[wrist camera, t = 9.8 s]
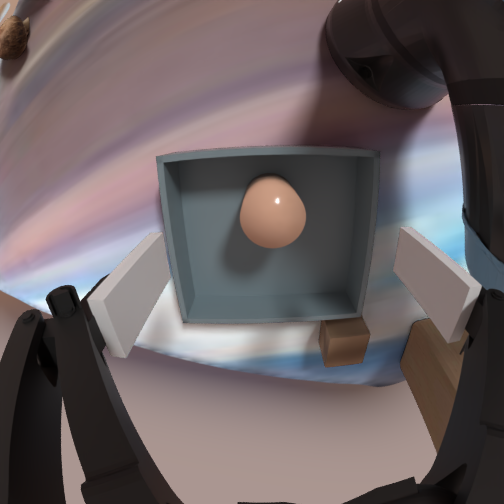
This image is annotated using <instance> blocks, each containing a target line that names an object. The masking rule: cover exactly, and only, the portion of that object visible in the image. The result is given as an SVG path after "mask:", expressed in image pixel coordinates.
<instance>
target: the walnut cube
mask: <svg viewBox="0 0 504 504" xmlns="http://www.w3.org/2000/svg"><path fill="white" fill-rule="evenodd" d="M369 338H370V332H369V330H368V328H367V326H366V324H365V322H364V320H363V318H362V316H361V317H356V318H344V319H332V320H321V328H320V336H319V345H320V349H321V353H322V357H323V361H324V366H325V367H335V366H343V365H351V364H359V363H362V362H363V359H364V355H365V352H366V349H367V345H368V342H369Z"/></svg>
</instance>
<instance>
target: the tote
mask: <svg viewBox="0 0 504 504" xmlns="http://www.w3.org/2000/svg"><path fill="white" fill-rule="evenodd" d="M156 161H157V171H158V180H159V189H160V197H161V205H162V212H163V219H164V226H165V232H166V238H167V245H168V250H169V256H170V262H171V267H172V273H173V278H174V283H175V288H176V293H177V297H178V302H179V307H180V311H181V316H182V320H183V323H211V324H239V323H280V322H302V321H318V320H332V319H344V318H356V317H361V313H362V308H363V303H364V298H365V293H366V288H367V282H368V276H369V270H370V264H371V257H372V250H373V243H374V235H375V226H376V216H377V205H378V192H379V175H380V151H375V150H370V149H363V148H353V147H335V146H248V147H229V148H215V149H204V150H193V151H184V152H175V153H170V154H165V155H161V156H157V157H156ZM265 173H274V174H278V175H280V176H282V177H284V178H285V179H286V180H288V182H289V183H290V184H291V186H292V187H293V189H294V190H295V192H296V193H297V195H298V196H299V198H300V199H301V201H302V202H303V205H304V207H305V212H306V222H305V226H304V228H303V230H302V232H301V234H300V235H299V236H298V238H297V239H296V240H294V241H293V242H292V243H290V244H288V245H286V246H283V247H280V248H265V247H262V246H259V245H257V244H255V243H254V242H252V241H251V240H250V239H249V238H248V237H247V236H246V234H245V233H244V231H243V229H242V227H241V223H240V212H241V207H242V203H243V199H244V194H245V191H246V188H247V186H248V184H249V183H250V182H251V180H253V179H254V178H255V177H257V176H259V175H261V174H265Z"/></svg>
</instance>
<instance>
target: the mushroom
mask: <svg viewBox="0 0 504 504" xmlns="http://www.w3.org/2000/svg"><path fill="white" fill-rule="evenodd" d="M28 32H29V17H28V18H27V19H26V20H25V21H23V22H22V20H21V19H20V18H19V17H17V16H11V17H10V18H8V19H7V20H6V21H5V22H4V23H3V24H2V26H1V27H0V58H1V59H4V60H10V59H15V58H17V57H19V56H20V55H21V53H22V52H23V51H24V49H25V47H26V44H27V34H28Z"/></svg>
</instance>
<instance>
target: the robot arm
mask: <svg viewBox="0 0 504 504" xmlns="http://www.w3.org/2000/svg"><path fill="white" fill-rule="evenodd" d="M326 38H327V43H328V47H329V50H330V52H331V55H332V57H333V59H334V61H335V62H336V64H337V66H338V67H339V69H340V70H341V72H342V73H343V74H344V75H345V77H346V78H347V79H348V80H349V81H350V82H351V83H352V84H353V85H354V86H355V87H356V88H357V89H359V90H360V91H361V92H362V93H364V94H365V95H367V96H368V97H370V98H371V99H373V100H375V101H377V102H379V103H381V104H383V105H386V106H389V107H392V108H397V109H419V108H425V107H429V106H431V105H434V104H436V103H437V102H439V101H440V100H442V99H443V98H444V97H445V96H446V95H447V94H449V97H450V101H451V105H452V106H451V108H452V112H453V117H454V122H455V127H456V133H457V139H458V145H459V152H460V160H461V170H462V182H463V200H464V203H463V207H462V219H463V223H464V225H465V259H466V263H467V267H468V270H469V273H470V274H469V273H468V272H466V271H465V270H464V269H463V268H462V267H461V266H459V265H458V264H457V263H456V262H455V261H454V260H452V259H451V258H450V257H449V256H448V255H446V254H445V253H444V252H443V251H442V250H440V249H439V248H438V247H437V246H435V245H434V244H433V243H432V242H430V241H429V240H428V239H426V238H425V237H424V236H422V235H421V234H420V233H418V232H417V231H416V230H414V229H413V228H412V227H400V233H399V240H398V246H397V252H396V258H395V263H394V268H393V271H394V273H395V274H396V275H397V276H398V277H399V279H400V280H401V281H402V282H403V284H404V285H405V286H406V287H407V289H408V290H409V291H410V292H411V294H412V295H413V296H414V298H415V299H416V300H417V302H418V303H419V304H420V306H421V307H422V308H423V310H424V311H425V312H426V314H427V315H428V316H429V318H430V319H431V320H432V322H433V323H434V325H435V326H436V327H437V329H438V330H439V332H440V333H441V335H442V336H443V337H444V339H445V340H446V342H447V343H452V342H456V341H459V340H460V339H461V337H462V335H463V332H464V330H465V329H466V331H467V332H468V333H469V335H468V337H467V339H466V341H465V343H464V345H463V347H462V349H461V351H460V353H459V354H460V355H461V354H462V352H464V356H463V362H462V368H461V374H460V379H459V383H458V388H457V392H456V396H455V400H454V404H453V408H452V412H451V415H450V419H449V422H448V425H447V428H446V431H445V434H444V437H443V440H442V443H441V446H440V449H439V451H438V454H437V456H436V459H435V461H434V464H433V466H432V468H431V470H430V471H429V473H428V474H427V475H426V476H425V478H424V479H423V480H422V482H421V483H420V484H416V482H415V479H414V477H411V478H408V479H405V480H402V481H399V482H396V483H392V484H389V485H386V486H382V487H378V488H376V489H374V490H372V491H369V492H367V493H365V494H363V495H361V496H359V497H357V498H354V499H352V500H350V501H348V502H345V503H343V504H504V106H503V105H504V0H338V1H337V2H336V3H335V5H334V6H333V8H332V10H331V11H330V13H329V15H328V18H327V22H326ZM472 104H491V105H472ZM170 278H171V275H170V270H169V265H168V259H167V254H166V248H165V242H164V236H163V232H158V233H150V234H149V235H148V236H147V237H146V238H145V239H144V240H142V241H141V242H140V243H139V244H138V245H137V246H136V247H135V248H134V249H133V250H132V251H131V253H130V254H129V255H128V256H127V257H126V258H125V259H124V260H123V261H122V262H121V263H120V264H119V265H118V266H117V267H116V268H115V269H114V270H113V271H112V272H111V273H110V274H108V275H106V276H105V277H103V278H102V279H100V280H99V282H98V283H97V284H96V285H95V286H94V287H93V288H92V289H91V291H89V292H88V293H87V295H86V296H85V297H84V298H83V299H82V300H81V301H80V300H79V297H78V295H77V292H76V289H75V287H74V286H72V285H64V286H60V287H58V288H56V289H54V290H53V291H51V292H50V293H49V294H48V295H47V297H46V301H47V304H48V306H49V309H50V311H51V313H52V315H53V318H51V319H43V317H42V314H41V312H40V311H39V310H37V309H33V310H28V311H26V312H24V313H23V314H22V315H21V316H20V317H19V318H18V320H17V322H16V324H15V326H14V328H13V331H12V333H11V336H10V338H9V340H8V343H7V345H6V348H5V351H4V353H3V356H2V359H1V362H0V504H66V501H65V494H64V485H63V476H62V461H61V410H62V396H63V401H64V406H65V410H66V415H67V419H68V423H69V427H70V431H71V434H72V438H73V441H74V445H75V448H76V451H77V454H78V457H79V460H80V463H81V466H82V469H83V471H84V474H85V478H86V481H85V482H84V483H83V484H81V492H82V495H83V498H84V501H85V503H86V504H184V503H182V501H181V500H180V499H179V498H178V497H177V496H176V494H175V493H174V492H173V490H172V489H171V488H170V486H169V485H168V483H167V482H166V480H165V479H164V477H163V476H162V474H161V473H160V471H159V469H158V468H157V466H156V465H155V463H154V461H153V459H152V458H151V456H150V454H149V453H148V451H147V449H146V447H145V446H144V444H143V442H142V440H141V438H140V436H139V435H138V433H137V431H136V429H135V427H134V425H133V423H132V421H131V419H130V417H129V415H128V412H127V410H126V408H125V406H124V404H123V402H122V399H121V397H120V395H119V393H118V390H117V388H116V385H115V383H114V380H113V378H112V376H111V373H110V370H109V367H108V365H107V362H106V359H105V357H104V355H103V353H102V351H103V349H104V347H105V346H107V349H108V351H109V353H110V355H111V356H116V357H123V358H127V356H128V354H129V352H130V350H131V348H132V347H133V345H134V343H135V341H136V339H137V337H138V335H139V333H140V331H141V330H142V328H143V326H144V324H145V322H146V320H147V318H148V317H149V315H150V313H151V311H152V309H153V308H154V306H155V304H156V302H157V300H158V299H159V297H160V295H161V293H162V292H163V290H164V288H165V286H166V285H167V283H168V281H169V279H170ZM238 504H294V503H287V502H275V503H249V502H238Z"/></svg>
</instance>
